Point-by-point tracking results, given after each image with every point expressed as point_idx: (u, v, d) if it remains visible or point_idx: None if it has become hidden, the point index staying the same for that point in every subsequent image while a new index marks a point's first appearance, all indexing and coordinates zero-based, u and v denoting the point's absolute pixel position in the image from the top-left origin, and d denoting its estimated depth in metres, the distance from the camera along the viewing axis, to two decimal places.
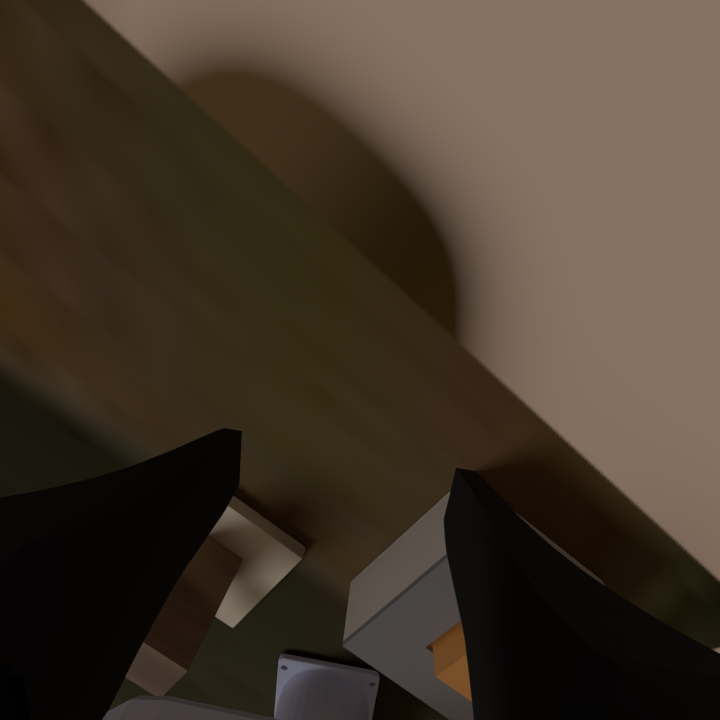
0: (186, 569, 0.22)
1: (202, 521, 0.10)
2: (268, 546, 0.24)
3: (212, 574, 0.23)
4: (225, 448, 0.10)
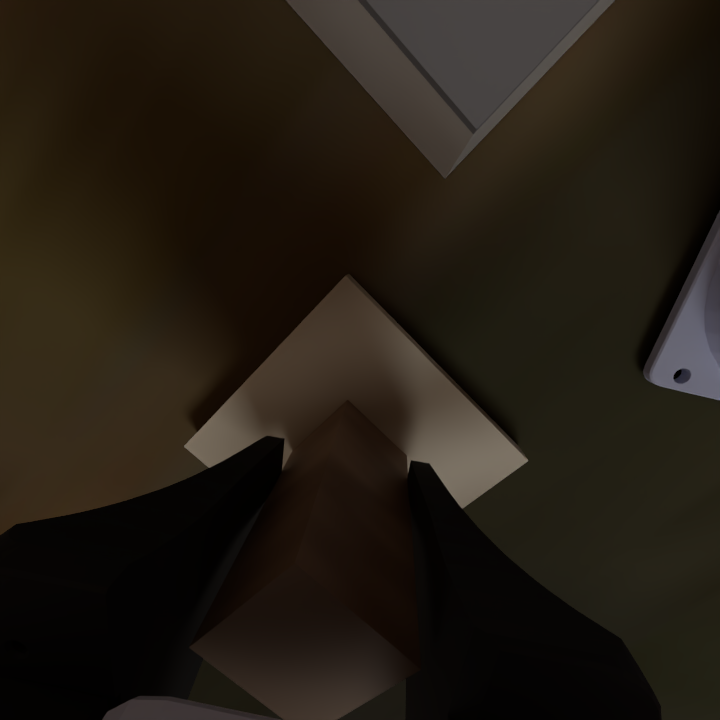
0: (268, 497, 0.11)
1: None
2: (314, 342, 0.12)
3: (308, 454, 0.11)
4: (272, 456, 0.10)
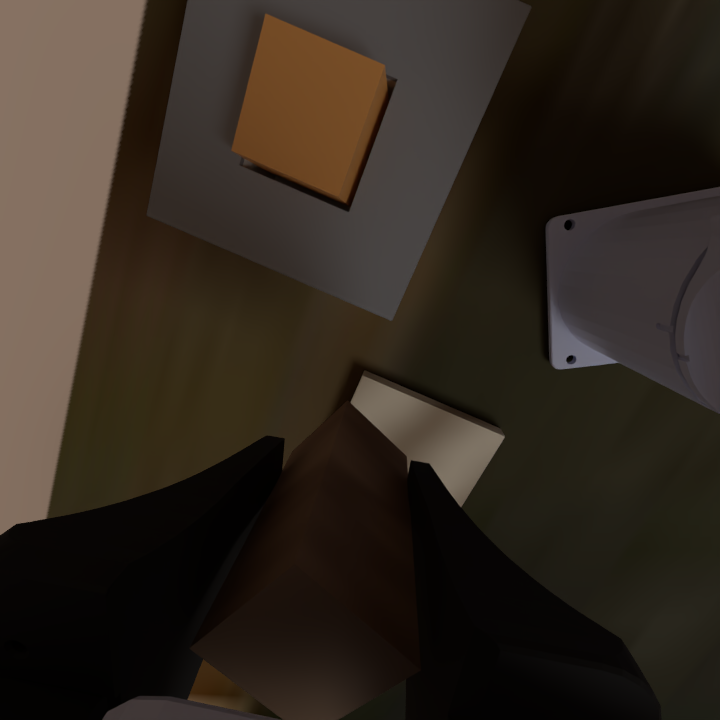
0: (268, 498, 0.11)
1: None
2: None
3: (307, 455, 0.11)
4: (272, 456, 0.10)
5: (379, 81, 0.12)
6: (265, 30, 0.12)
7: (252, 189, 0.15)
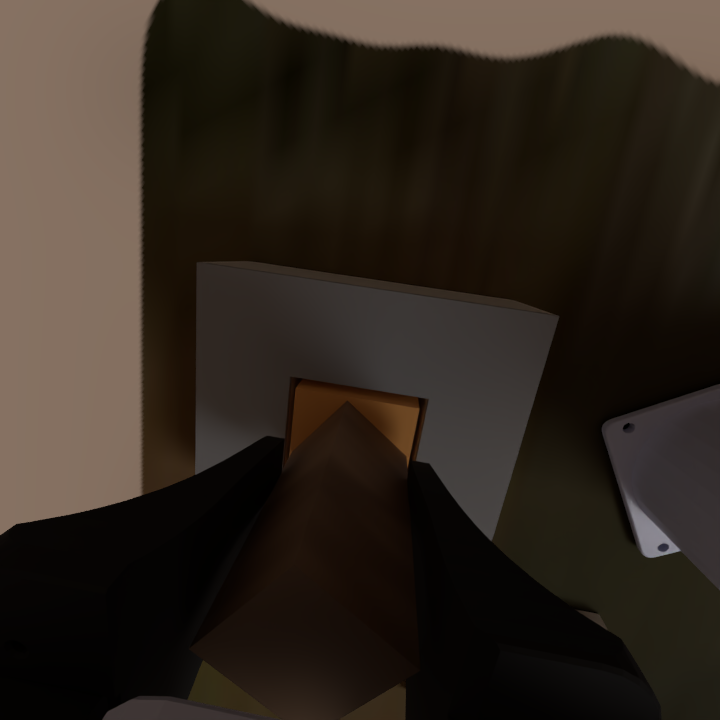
0: (268, 498, 0.11)
1: None
2: None
3: (307, 456, 0.11)
4: (272, 457, 0.10)
5: (416, 420, 0.13)
6: (298, 400, 0.13)
7: None
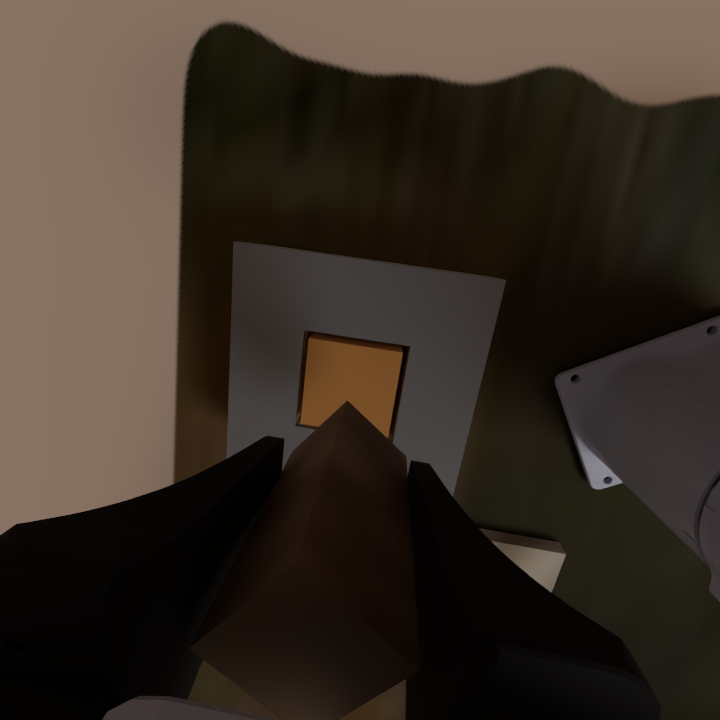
0: (268, 498, 0.11)
1: None
2: None
3: (307, 455, 0.11)
4: (272, 456, 0.10)
5: None
6: (310, 347, 0.17)
7: None
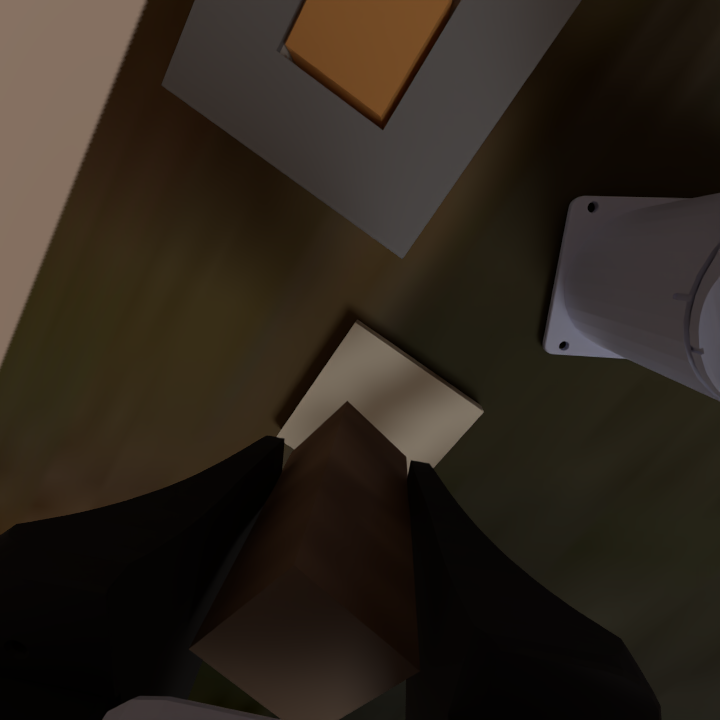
0: (268, 499, 0.11)
1: None
2: (344, 362, 0.21)
3: (307, 456, 0.11)
4: (272, 457, 0.10)
5: (444, 9, 0.13)
6: None
7: (285, 81, 0.14)
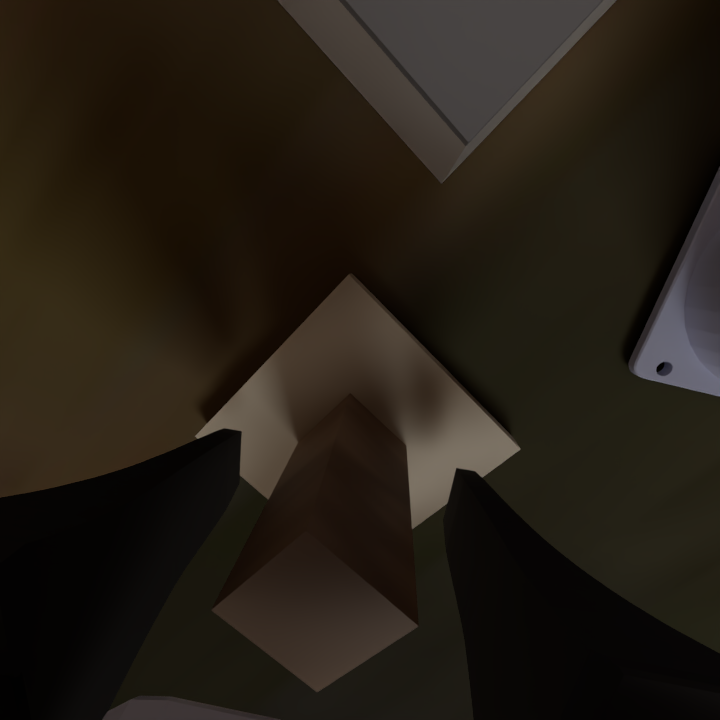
0: (277, 483, 0.11)
1: (202, 521, 0.10)
2: (319, 337, 0.13)
3: (313, 443, 0.12)
4: (225, 448, 0.10)
5: None
6: None
7: None
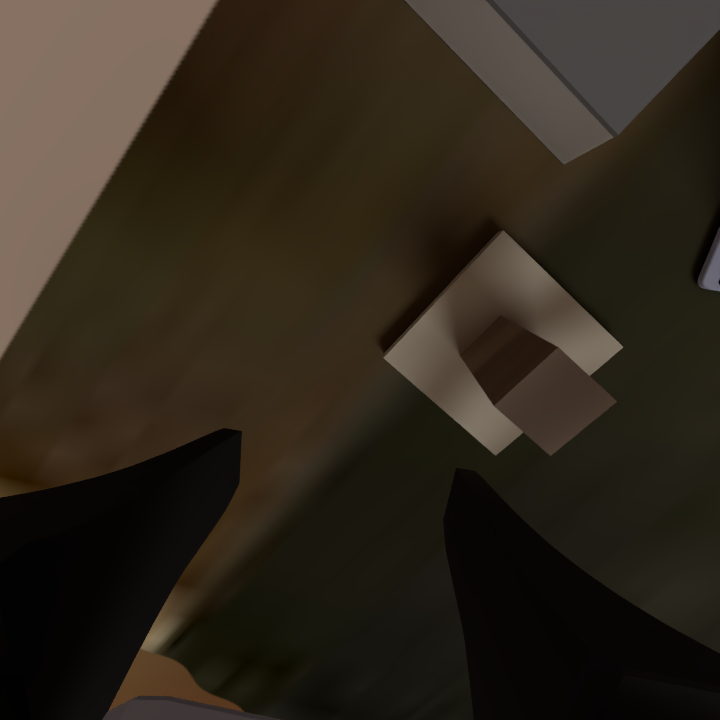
0: (471, 369, 0.17)
1: (202, 521, 0.10)
2: (480, 276, 0.19)
3: (491, 343, 0.17)
4: (225, 448, 0.10)
5: None
6: None
7: None
